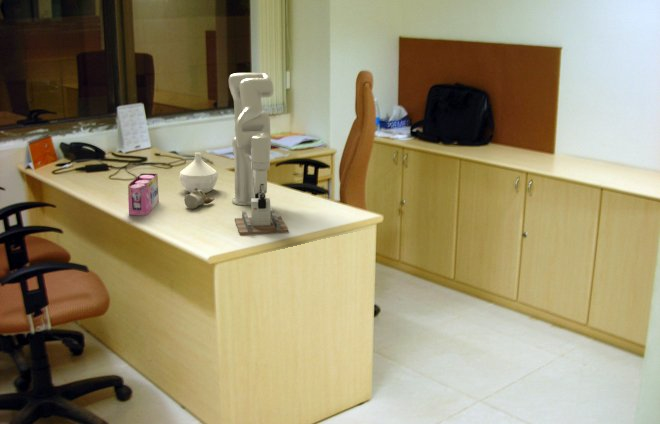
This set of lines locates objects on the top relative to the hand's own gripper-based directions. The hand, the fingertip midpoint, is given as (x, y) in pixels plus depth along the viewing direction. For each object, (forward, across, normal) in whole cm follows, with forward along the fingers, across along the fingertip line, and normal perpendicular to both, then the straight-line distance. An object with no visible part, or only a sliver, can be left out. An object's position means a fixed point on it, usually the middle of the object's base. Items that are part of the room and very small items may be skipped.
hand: (260, 204), depth 324 cm
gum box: (+11, -35, -48) cm, 60 cm away
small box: (+8, +1, 0) cm, 8 cm away
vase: (+12, -61, -22) cm, 66 cm away
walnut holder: (+9, +1, 0) cm, 9 cm away
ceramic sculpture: (+11, -35, -24) cm, 44 cm away
